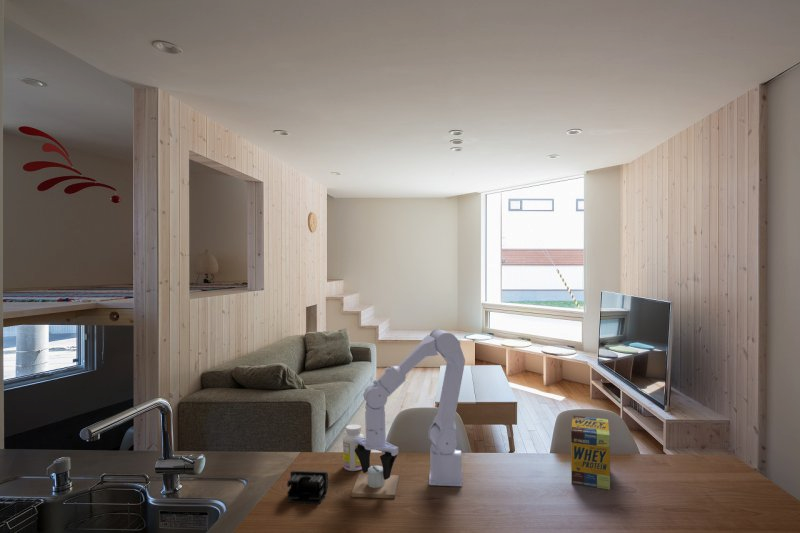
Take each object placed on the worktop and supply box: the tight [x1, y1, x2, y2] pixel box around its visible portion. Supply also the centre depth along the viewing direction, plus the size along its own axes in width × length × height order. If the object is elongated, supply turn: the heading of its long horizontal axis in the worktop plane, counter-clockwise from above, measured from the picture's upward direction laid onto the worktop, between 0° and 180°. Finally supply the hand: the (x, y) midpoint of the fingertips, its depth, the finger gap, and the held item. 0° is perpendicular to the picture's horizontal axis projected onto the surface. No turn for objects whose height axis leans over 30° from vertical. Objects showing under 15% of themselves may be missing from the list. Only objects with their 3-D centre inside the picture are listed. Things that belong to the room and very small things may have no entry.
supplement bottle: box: [342, 423, 365, 472], centre depth 150 cm, size 7×7×13 cm
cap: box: [366, 464, 385, 488], centre depth 137 cm, size 5×5×5 cm
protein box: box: [570, 415, 611, 490], centre depth 142 cm, size 10×15×16 cm
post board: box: [350, 473, 400, 499], centre depth 137 cm, size 12×12×3 cm
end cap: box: [286, 470, 329, 505], centre depth 131 cm, size 10×7×7 cm
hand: (376, 474), depth 137 cm, fingers open, 7 cm apart
